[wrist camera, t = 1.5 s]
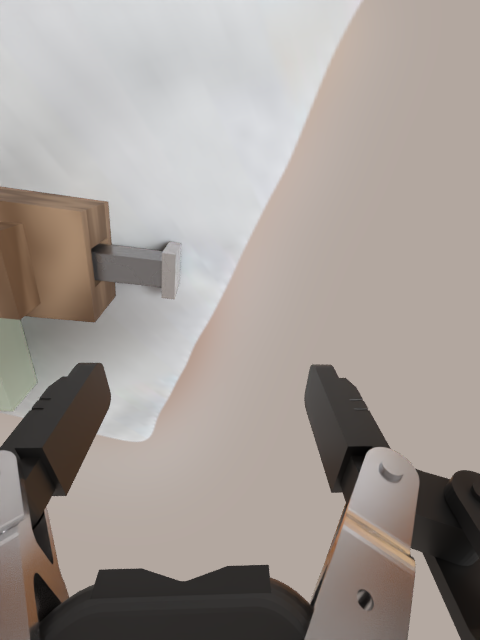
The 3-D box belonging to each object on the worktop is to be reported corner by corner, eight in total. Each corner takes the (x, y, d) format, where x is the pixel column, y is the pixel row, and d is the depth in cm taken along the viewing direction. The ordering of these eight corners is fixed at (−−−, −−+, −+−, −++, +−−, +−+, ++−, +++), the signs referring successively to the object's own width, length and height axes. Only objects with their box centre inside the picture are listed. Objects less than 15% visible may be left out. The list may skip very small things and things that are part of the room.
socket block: (0, 284, 30) (-77, 327, 22) (-30, 182, 25) (-142, 191, 17) (115, 295, 32) (81, 339, 24) (108, 201, 27) (61, 218, 19)
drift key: (60, 270, 29) (38, 285, 25) (52, 226, 27) (27, 236, 23) (179, 283, 30) (174, 299, 27) (181, 243, 28) (175, 254, 25)
